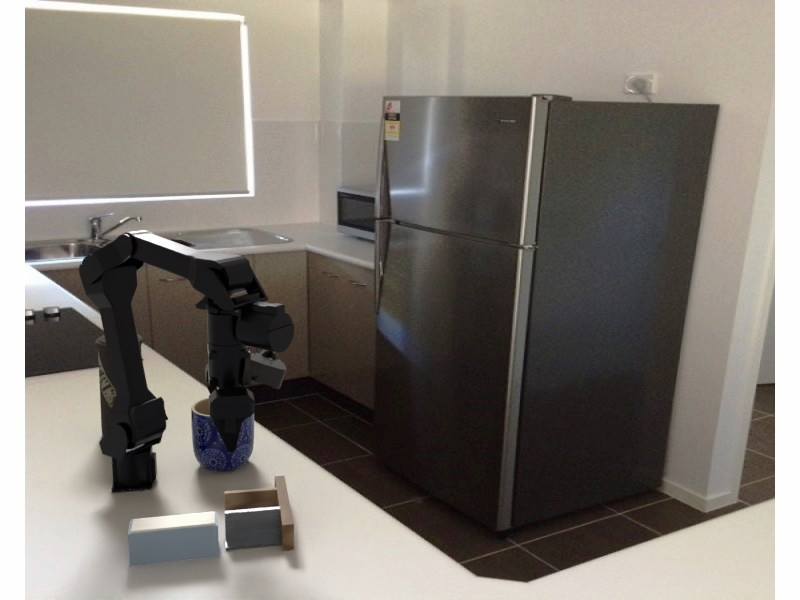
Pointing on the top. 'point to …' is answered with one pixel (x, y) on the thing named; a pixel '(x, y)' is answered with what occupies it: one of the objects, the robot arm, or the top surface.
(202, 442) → the planter
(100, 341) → the container
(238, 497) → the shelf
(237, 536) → the bookend
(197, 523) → the book
